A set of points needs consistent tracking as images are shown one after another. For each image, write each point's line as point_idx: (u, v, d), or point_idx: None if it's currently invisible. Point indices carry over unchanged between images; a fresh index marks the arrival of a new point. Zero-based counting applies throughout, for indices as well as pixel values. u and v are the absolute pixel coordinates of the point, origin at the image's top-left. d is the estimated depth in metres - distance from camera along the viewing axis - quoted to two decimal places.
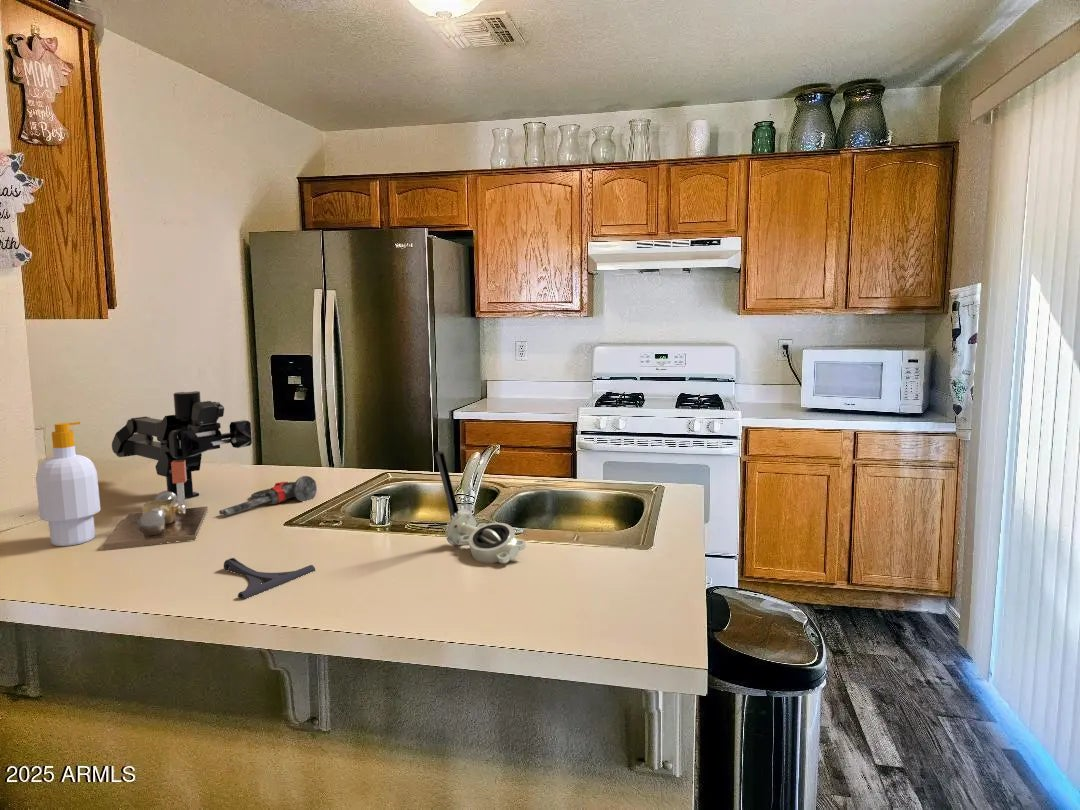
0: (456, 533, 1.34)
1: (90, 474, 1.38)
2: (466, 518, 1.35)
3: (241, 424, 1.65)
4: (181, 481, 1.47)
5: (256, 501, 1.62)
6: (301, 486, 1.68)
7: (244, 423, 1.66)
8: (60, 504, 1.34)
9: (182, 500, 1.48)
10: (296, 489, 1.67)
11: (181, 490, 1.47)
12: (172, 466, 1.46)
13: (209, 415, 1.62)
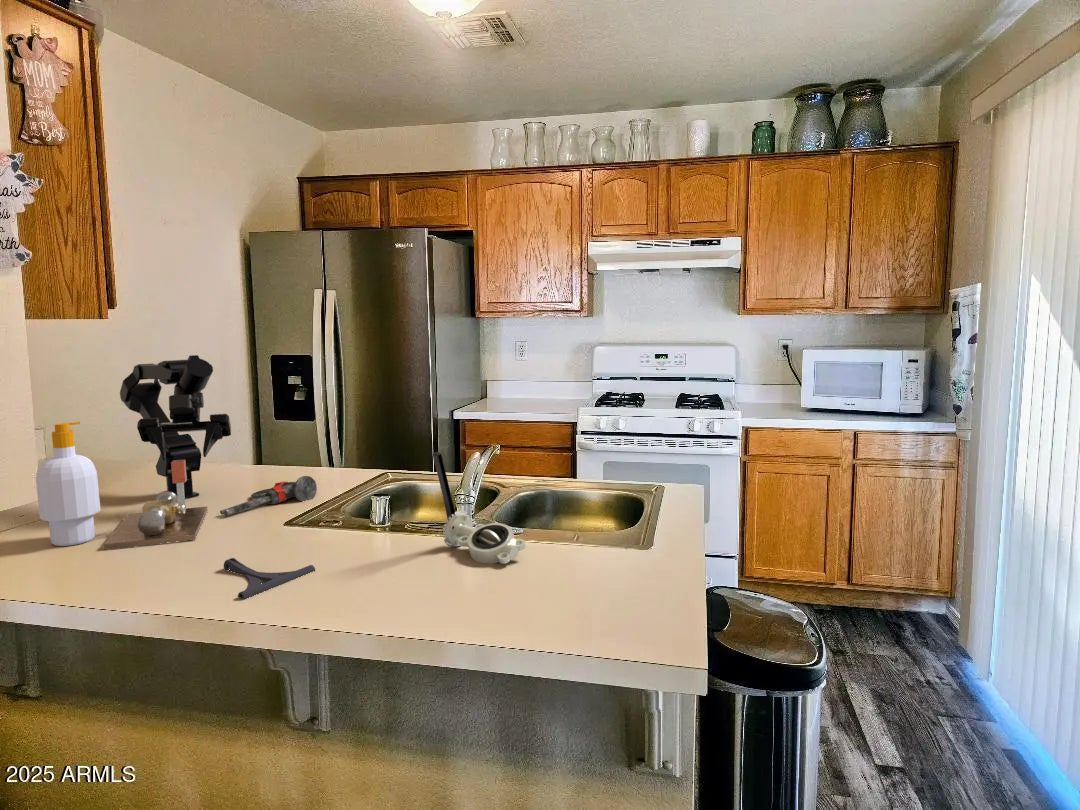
0: (453, 534, 1.33)
1: (90, 474, 1.38)
2: (463, 519, 1.34)
3: (212, 425, 1.58)
4: (181, 481, 1.47)
5: (257, 501, 1.62)
6: (301, 486, 1.68)
7: (216, 424, 1.58)
8: (60, 504, 1.34)
9: (182, 500, 1.48)
10: (296, 489, 1.67)
11: (181, 490, 1.47)
12: (172, 466, 1.46)
13: (183, 409, 1.56)
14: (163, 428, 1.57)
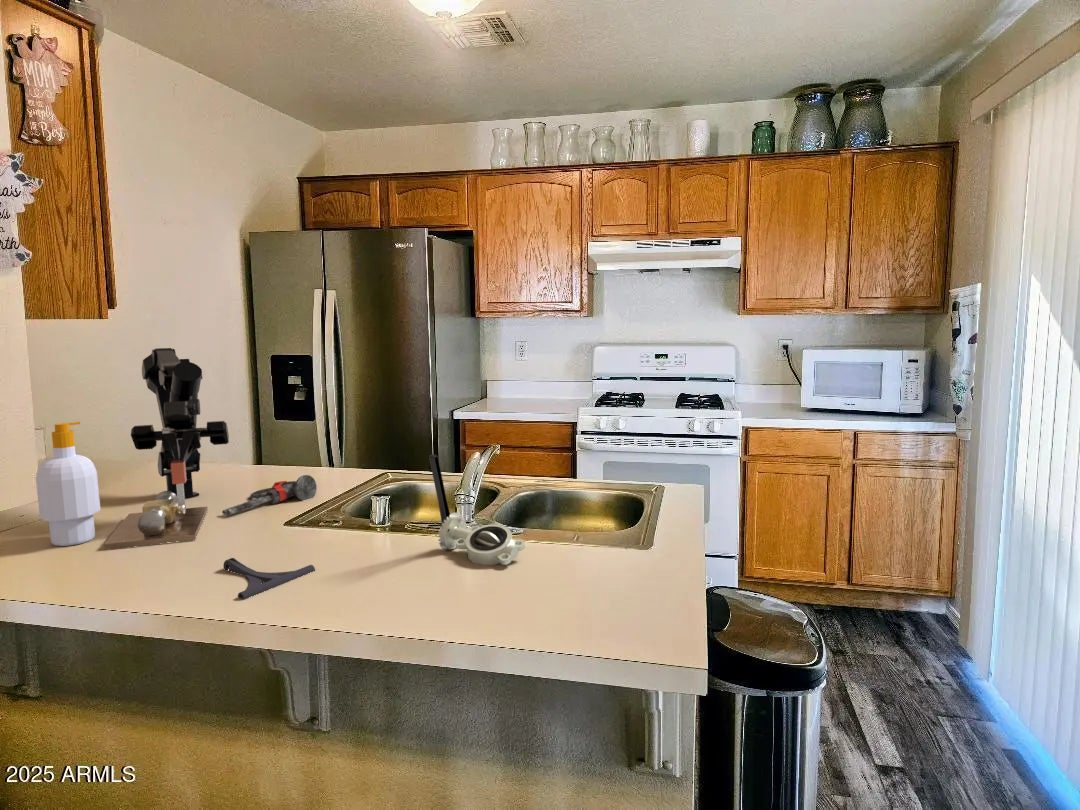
0: (449, 537, 1.31)
1: (90, 474, 1.38)
2: (458, 521, 1.33)
3: (189, 434, 1.50)
4: (181, 482, 1.46)
5: (258, 500, 1.62)
6: (301, 485, 1.69)
7: (193, 433, 1.51)
8: (60, 504, 1.34)
9: (182, 500, 1.48)
10: (297, 488, 1.68)
11: (181, 490, 1.47)
12: (172, 467, 1.45)
13: (179, 417, 1.49)
14: (158, 435, 1.51)
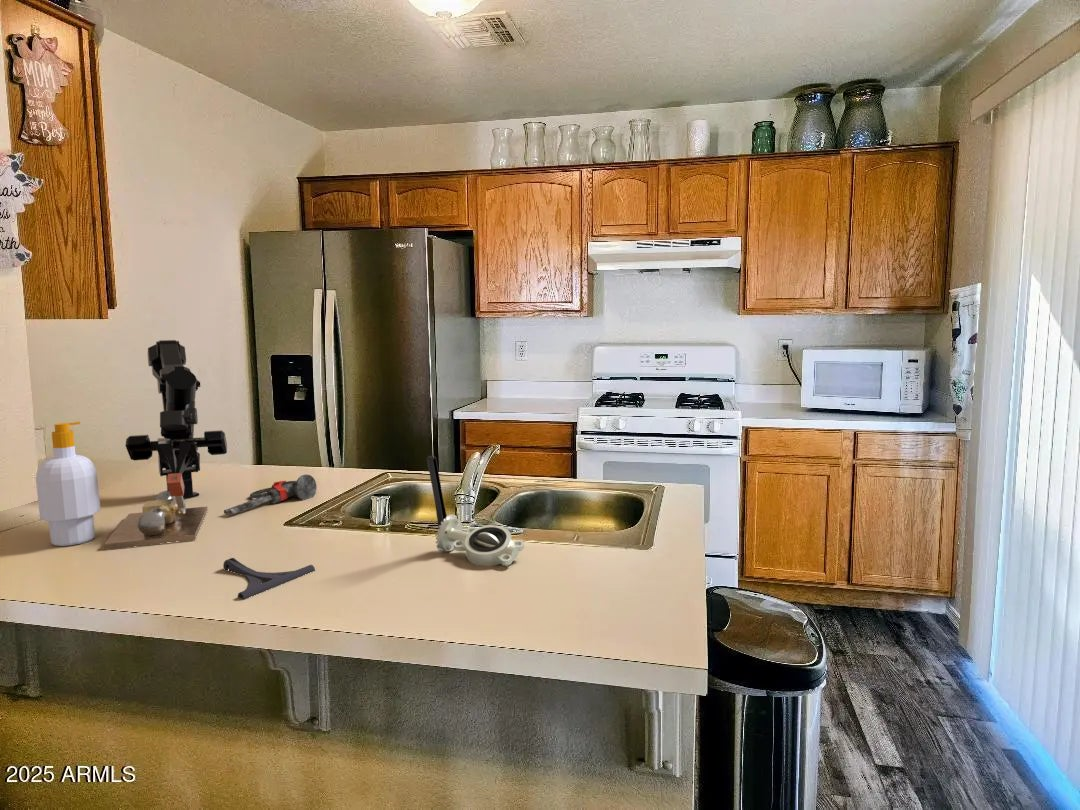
0: (446, 539, 1.30)
1: (90, 474, 1.38)
2: (454, 523, 1.32)
3: (186, 445, 1.45)
4: (179, 495, 1.44)
5: (259, 500, 1.62)
6: (302, 484, 1.70)
7: (190, 443, 1.46)
8: (60, 504, 1.34)
9: (182, 505, 1.47)
10: (298, 488, 1.68)
11: (180, 499, 1.45)
12: (169, 485, 1.41)
13: (175, 426, 1.45)
14: (154, 446, 1.46)
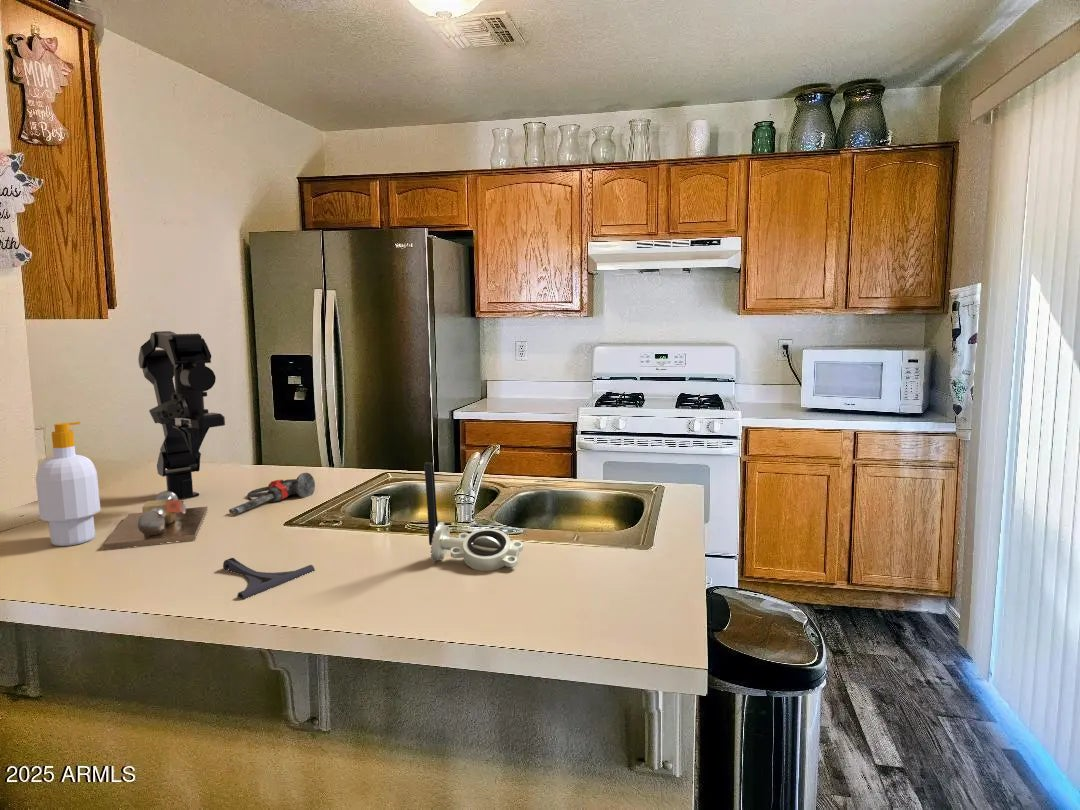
0: (440, 548, 1.25)
1: (90, 474, 1.38)
2: (445, 530, 1.27)
3: (185, 429, 1.57)
4: None
5: (262, 499, 1.64)
6: (302, 482, 1.72)
7: (186, 429, 1.57)
8: (60, 504, 1.34)
9: None
10: (298, 486, 1.70)
11: None
12: (168, 512, 1.39)
13: None
14: None
